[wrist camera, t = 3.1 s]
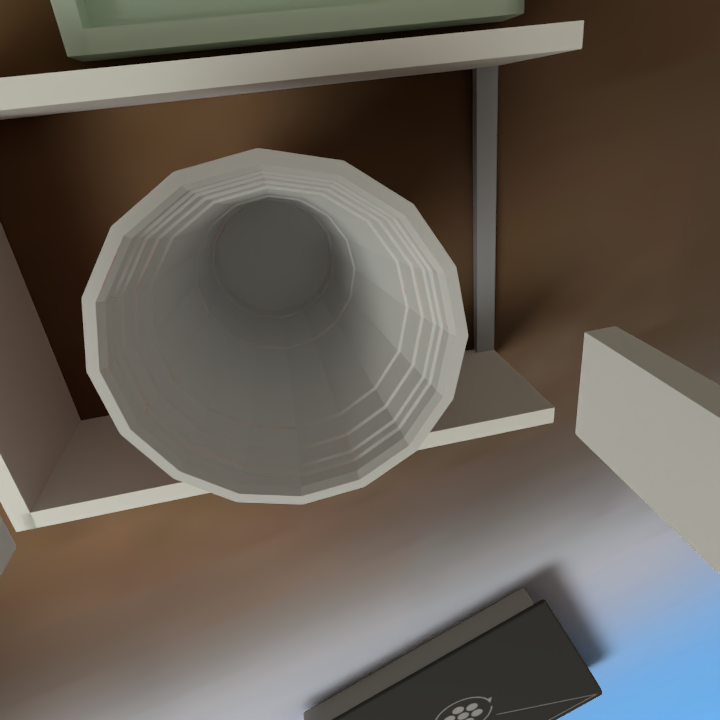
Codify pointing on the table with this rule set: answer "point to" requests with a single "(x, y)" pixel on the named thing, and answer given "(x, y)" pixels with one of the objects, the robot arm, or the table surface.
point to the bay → (221, 78)
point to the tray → (249, 22)
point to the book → (477, 673)
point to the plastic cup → (274, 327)
